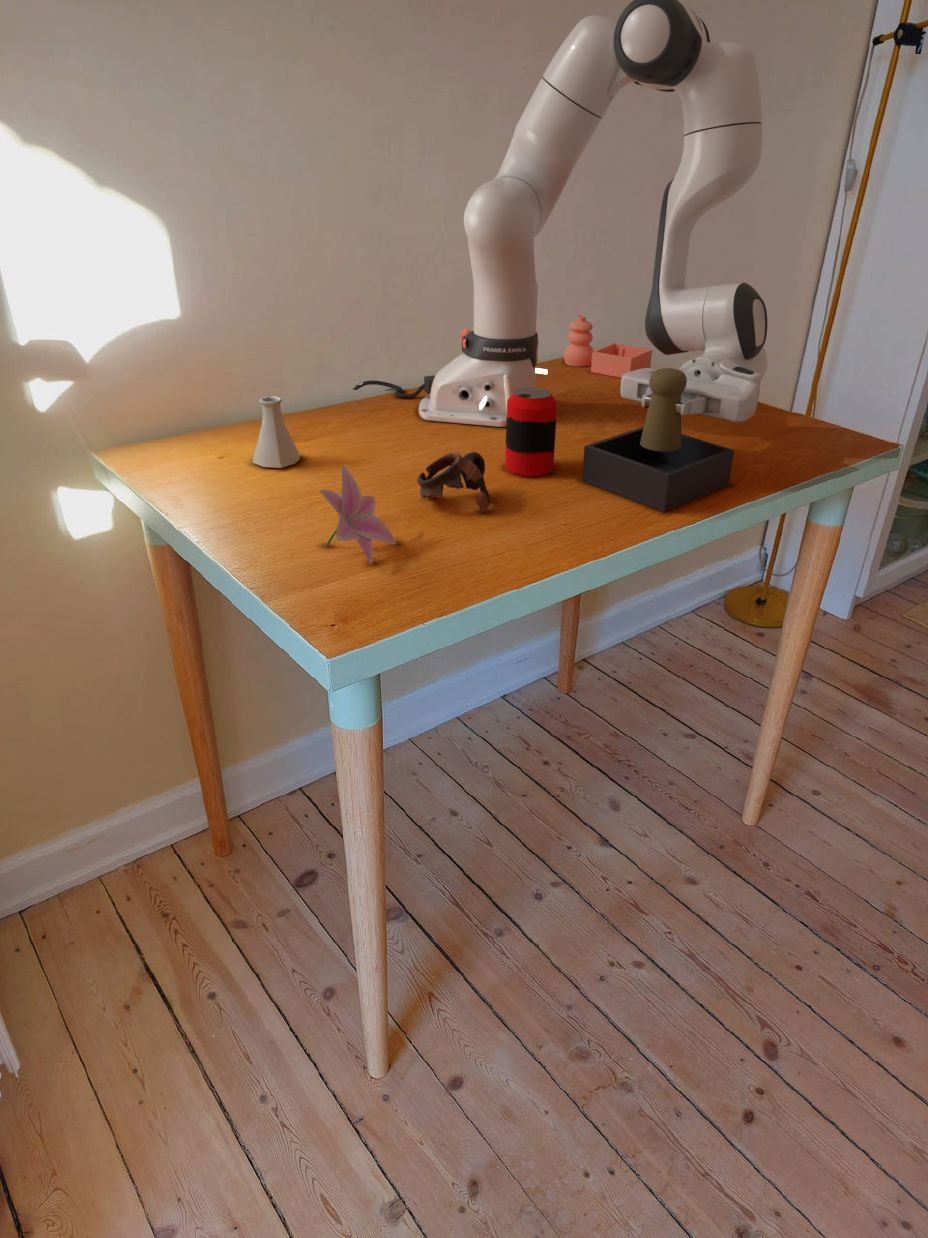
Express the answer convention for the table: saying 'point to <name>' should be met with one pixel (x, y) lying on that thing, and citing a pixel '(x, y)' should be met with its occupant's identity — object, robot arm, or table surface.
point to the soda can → (530, 432)
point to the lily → (357, 516)
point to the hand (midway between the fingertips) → (662, 406)
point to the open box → (657, 470)
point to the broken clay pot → (456, 476)
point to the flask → (274, 437)
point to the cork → (664, 411)
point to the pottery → (603, 353)
